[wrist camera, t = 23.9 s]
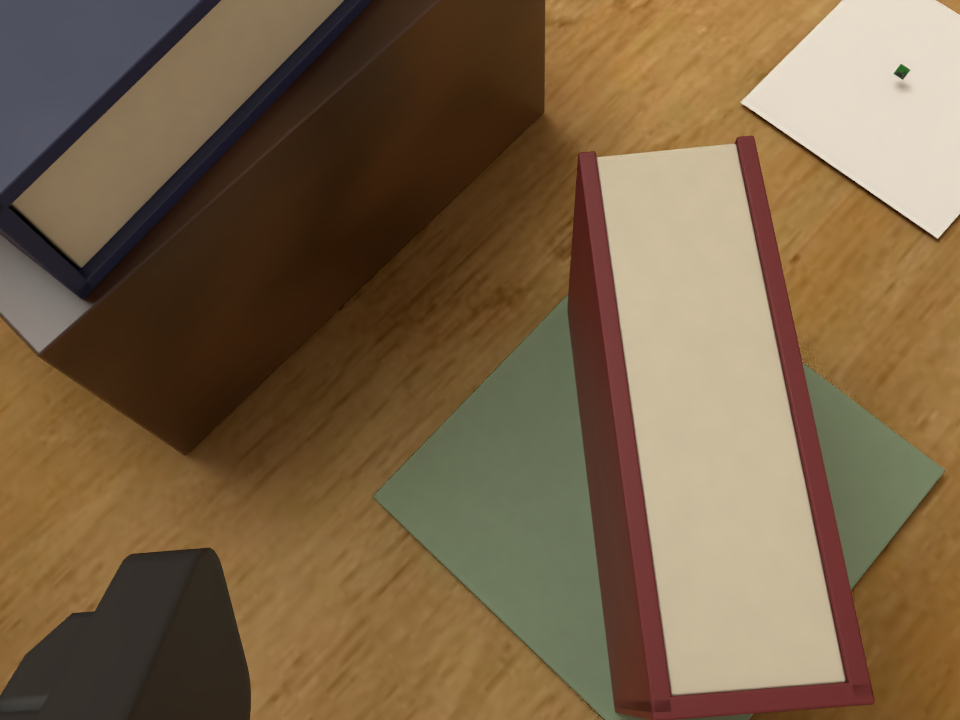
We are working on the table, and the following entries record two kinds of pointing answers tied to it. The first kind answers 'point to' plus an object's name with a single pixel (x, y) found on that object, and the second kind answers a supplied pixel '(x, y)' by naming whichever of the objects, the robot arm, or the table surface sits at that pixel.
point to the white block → (878, 102)
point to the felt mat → (566, 504)
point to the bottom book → (133, 111)
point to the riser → (292, 213)
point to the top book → (703, 446)
